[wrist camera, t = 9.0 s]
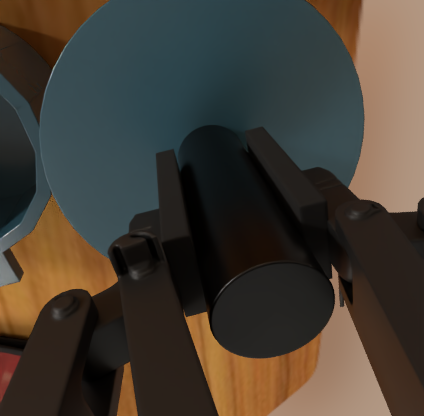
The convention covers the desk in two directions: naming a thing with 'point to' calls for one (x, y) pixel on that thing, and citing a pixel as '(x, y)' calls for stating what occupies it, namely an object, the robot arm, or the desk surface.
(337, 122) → the pot lid
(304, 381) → the desk surface
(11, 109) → the pot
